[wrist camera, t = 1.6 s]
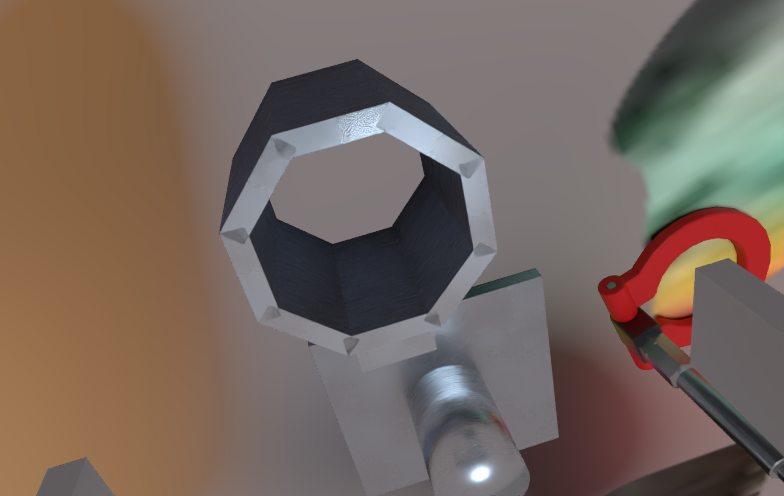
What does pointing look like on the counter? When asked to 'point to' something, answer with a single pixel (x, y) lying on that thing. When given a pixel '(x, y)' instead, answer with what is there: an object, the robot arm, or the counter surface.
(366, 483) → the square plate with knob
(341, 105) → the grey piece
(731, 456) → the counter surface
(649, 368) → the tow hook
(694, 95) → the counter surface
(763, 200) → the counter surface
